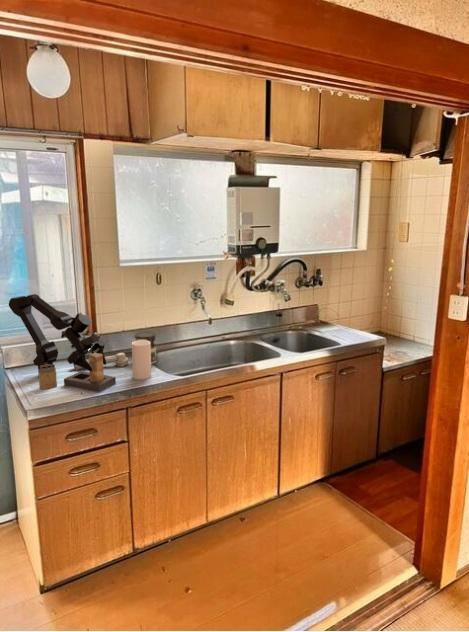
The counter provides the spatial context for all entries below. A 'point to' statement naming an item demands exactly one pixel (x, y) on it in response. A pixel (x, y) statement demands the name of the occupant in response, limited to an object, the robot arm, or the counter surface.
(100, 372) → the wood peg
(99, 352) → the robot arm
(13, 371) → the counter surface
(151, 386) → the counter surface
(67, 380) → the rail
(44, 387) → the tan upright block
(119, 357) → the wooden mallet
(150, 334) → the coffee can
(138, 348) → the cup
